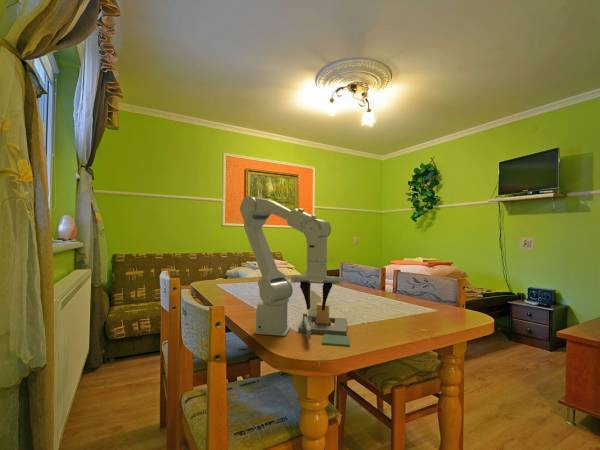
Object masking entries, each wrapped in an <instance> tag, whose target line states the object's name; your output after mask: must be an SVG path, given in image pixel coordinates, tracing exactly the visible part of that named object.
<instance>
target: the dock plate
mask: <svg viewBox="0 0 600 450" xmlns="http://www.w3.org/2000/svg"><path fill="white" fill-rule="evenodd" d="M307 318H308V322H309V325H310V329H311V334H319V333H321V334H323V335H324V334H328V335H342V336H348V335H347V334H348V333H347V332H348V331H347V330H348V329H347V328H348V327H347V326H348V319H347V317H346V318H344V317H333V316H332V317H331V316H329V320H330V321H331V322H332V323H333V322H334V324H333V325H330V326H320V325H315V324H312V323H313V321H314V322H315V320H316V316H308V315H307ZM297 332H298V333H306V332H305V328H304V324H303V319H302V320H301V322H300V323H299V326H298V328H297Z"/></svg>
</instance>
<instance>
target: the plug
mask: <svg viewBox="0 0 600 450" xmlns="http://www.w3.org/2000/svg"><path fill="white" fill-rule="evenodd" d="M329 317H330V302H326V304H325V310H322V302H321V303H320V302H318V303H317V315H316V320H315V321H314V325H320V326H332V325H331V324H332V323H331V321H330V320H329Z"/></svg>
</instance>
